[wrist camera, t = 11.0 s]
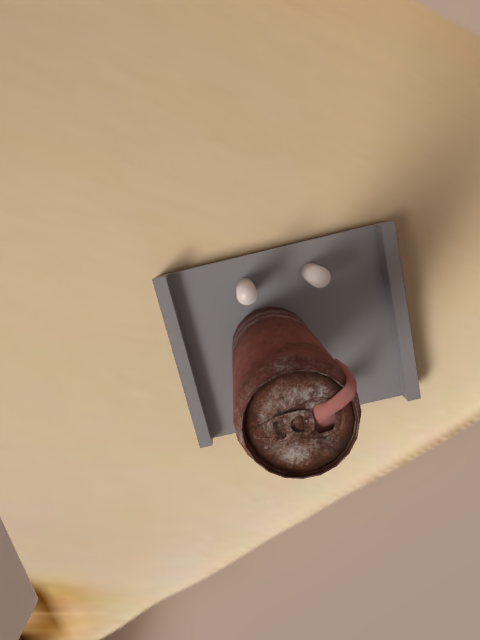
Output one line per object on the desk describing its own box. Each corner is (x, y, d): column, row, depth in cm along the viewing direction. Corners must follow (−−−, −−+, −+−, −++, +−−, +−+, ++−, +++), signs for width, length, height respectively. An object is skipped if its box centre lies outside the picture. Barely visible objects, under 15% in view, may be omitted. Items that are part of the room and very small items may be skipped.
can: (327, 337, 32) (399, 416, 18) (272, 393, 33) (303, 510, 19) (271, 286, 31) (303, 330, 17) (216, 346, 32) (206, 433, 18)
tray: (157, 275, 32) (143, 284, 27) (383, 221, 31) (411, 219, 26) (202, 434, 35) (197, 467, 30) (408, 387, 34) (438, 413, 29)
